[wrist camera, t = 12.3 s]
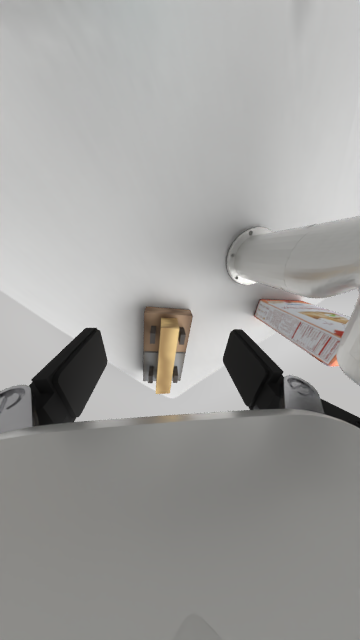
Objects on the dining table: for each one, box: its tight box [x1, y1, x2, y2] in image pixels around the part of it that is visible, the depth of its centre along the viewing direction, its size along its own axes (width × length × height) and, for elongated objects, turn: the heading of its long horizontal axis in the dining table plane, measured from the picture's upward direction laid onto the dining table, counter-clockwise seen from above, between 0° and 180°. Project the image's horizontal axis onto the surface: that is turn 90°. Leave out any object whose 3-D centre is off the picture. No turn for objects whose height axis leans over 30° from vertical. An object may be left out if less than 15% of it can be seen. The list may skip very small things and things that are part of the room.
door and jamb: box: [143, 306, 193, 383], centre depth 38 cm, size 12×24×8 cm, turn 172°
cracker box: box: [254, 299, 350, 366], centre depth 31 cm, size 14×6×21 cm, turn 86°
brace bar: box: [156, 318, 179, 394], centre depth 35 cm, size 4×22×5 cm, turn 172°
